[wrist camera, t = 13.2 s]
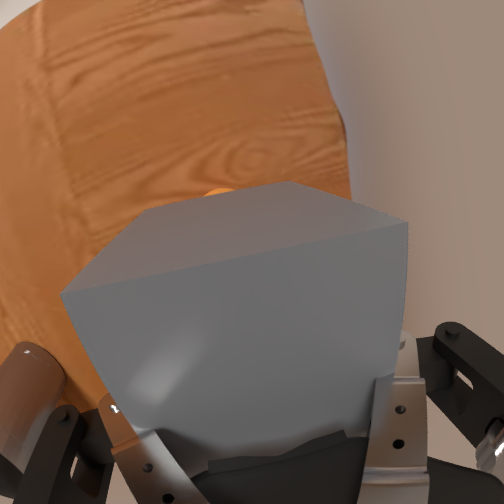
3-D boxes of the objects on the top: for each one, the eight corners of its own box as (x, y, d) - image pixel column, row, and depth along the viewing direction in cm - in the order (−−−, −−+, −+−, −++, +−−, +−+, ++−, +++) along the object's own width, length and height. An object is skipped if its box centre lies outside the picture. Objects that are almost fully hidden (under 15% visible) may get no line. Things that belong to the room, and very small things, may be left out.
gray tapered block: (308, 354, 17) (368, 471, 9) (197, 378, 16) (203, 510, 8) (289, 180, 13) (408, 221, 5) (145, 209, 13) (59, 293, 5)
